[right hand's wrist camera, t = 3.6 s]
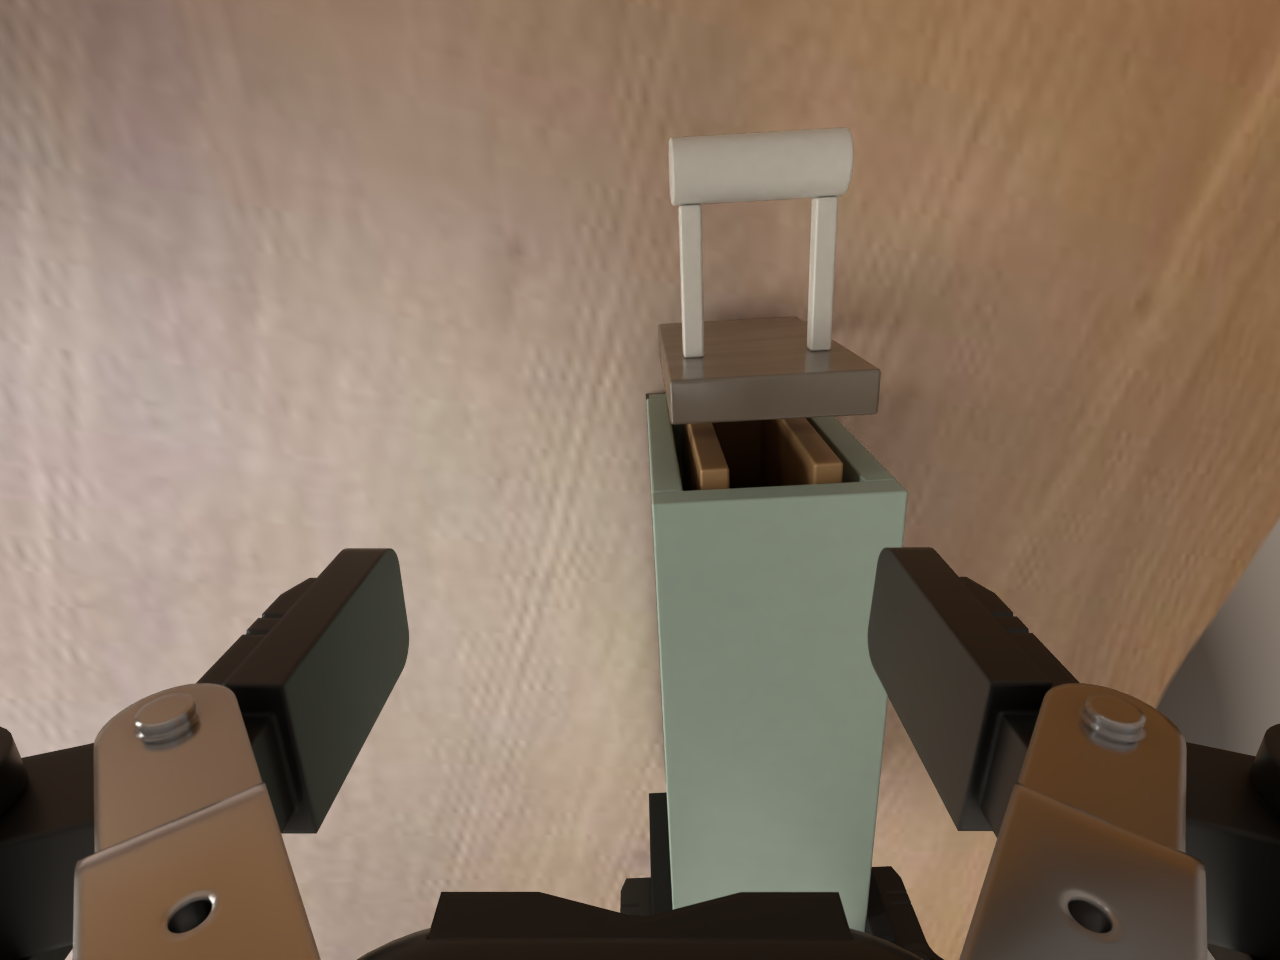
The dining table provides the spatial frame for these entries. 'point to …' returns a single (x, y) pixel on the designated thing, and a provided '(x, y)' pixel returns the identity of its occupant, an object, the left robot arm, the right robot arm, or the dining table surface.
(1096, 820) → the right robot arm
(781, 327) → the drawer
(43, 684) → the dining table surface
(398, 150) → the dining table surface
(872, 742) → the cabinet
